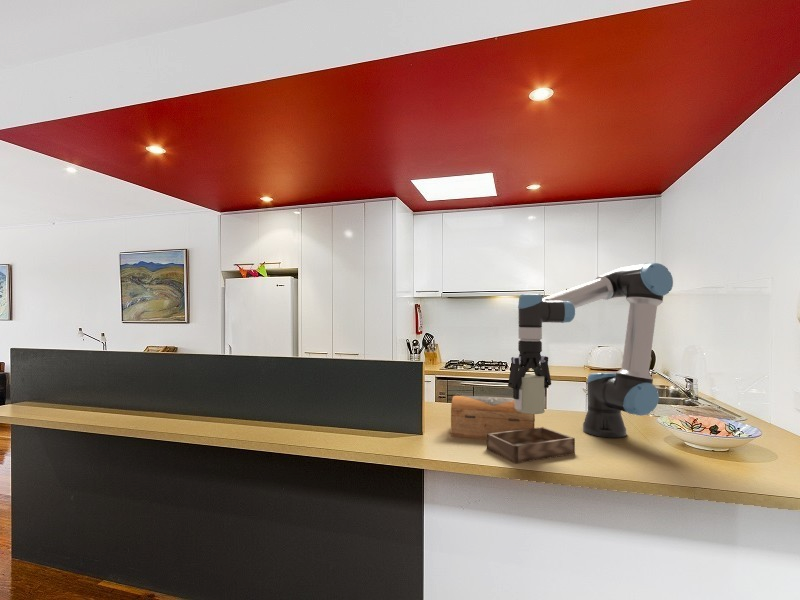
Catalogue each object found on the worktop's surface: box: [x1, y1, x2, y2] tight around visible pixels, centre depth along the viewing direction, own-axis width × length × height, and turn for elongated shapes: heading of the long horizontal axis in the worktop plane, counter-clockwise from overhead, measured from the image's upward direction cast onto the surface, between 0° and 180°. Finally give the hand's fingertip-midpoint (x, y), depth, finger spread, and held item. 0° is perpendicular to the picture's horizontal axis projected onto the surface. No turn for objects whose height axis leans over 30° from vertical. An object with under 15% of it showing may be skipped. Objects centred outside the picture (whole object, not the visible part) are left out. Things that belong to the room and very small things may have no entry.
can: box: [516, 373, 546, 415], centre depth 142 cm, size 9×9×12 cm
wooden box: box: [450, 395, 536, 440], centre depth 163 cm, size 30×16×14 cm, turn 77°
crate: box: [486, 426, 576, 464], centre depth 142 cm, size 24×15×5 cm, turn 113°
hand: (529, 407), depth 142 cm, fingers closed on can, 9 cm apart
